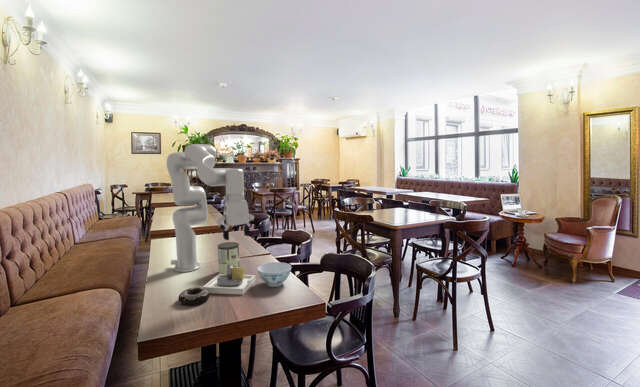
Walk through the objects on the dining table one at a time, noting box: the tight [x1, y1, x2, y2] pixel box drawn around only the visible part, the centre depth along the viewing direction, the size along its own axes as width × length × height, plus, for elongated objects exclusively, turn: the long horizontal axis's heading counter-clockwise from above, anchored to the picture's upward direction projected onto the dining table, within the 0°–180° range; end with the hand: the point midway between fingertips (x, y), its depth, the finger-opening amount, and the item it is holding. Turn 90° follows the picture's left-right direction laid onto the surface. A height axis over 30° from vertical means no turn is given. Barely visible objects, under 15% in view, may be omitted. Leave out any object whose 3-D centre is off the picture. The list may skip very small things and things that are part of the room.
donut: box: [177, 286, 211, 307], centre depth 131 cm, size 12×12×4 cm
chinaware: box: [257, 261, 292, 288], centre depth 147 cm, size 15×15×8 cm
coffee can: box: [217, 241, 240, 274], centre depth 163 cm, size 10×10×14 cm
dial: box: [217, 266, 246, 287], centre depth 144 cm, size 12×11×7 cm
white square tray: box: [202, 273, 257, 295], centre depth 145 cm, size 18×16×3 cm
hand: (236, 237), depth 140 cm, fingers open, 9 cm apart
